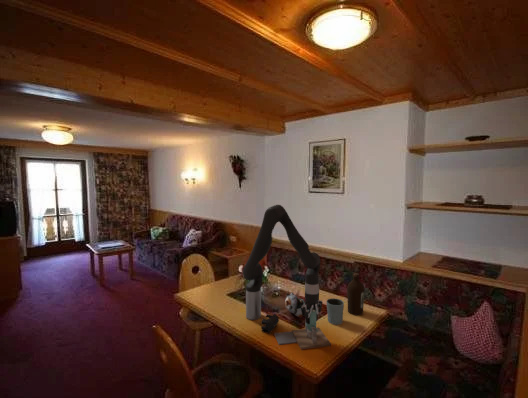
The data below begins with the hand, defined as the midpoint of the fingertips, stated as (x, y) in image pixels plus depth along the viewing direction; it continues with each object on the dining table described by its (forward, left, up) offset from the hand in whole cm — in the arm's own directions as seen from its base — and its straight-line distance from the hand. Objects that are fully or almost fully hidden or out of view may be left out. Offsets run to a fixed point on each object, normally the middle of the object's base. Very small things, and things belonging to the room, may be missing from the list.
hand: (311, 321), depth 150 cm
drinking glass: (-15, +20, -9) cm, 27 cm away
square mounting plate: (0, -1, -9) cm, 9 cm away
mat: (-3, -14, -9) cm, 17 cm away
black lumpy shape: (-14, -20, -9) cm, 26 cm away
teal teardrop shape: (0, 0, -4) cm, 4 cm away
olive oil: (-23, +38, -9) cm, 45 cm away
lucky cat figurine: (-28, +1, -9) cm, 30 cm away
